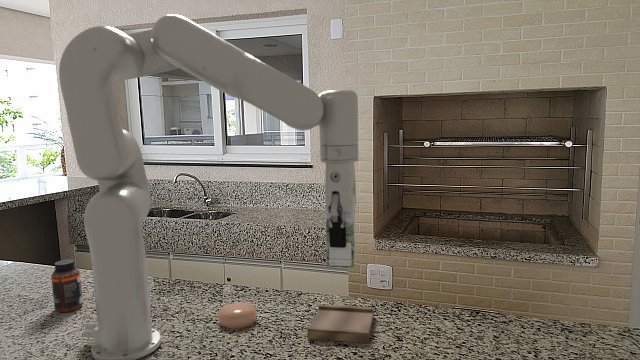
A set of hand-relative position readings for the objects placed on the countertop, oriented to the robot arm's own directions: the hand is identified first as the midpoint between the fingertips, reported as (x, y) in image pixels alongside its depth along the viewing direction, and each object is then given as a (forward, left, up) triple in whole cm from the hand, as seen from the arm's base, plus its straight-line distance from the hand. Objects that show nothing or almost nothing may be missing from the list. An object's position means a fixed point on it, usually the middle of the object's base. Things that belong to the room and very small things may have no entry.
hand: (340, 241), depth 98 cm
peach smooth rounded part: (-23, 0, -19) cm, 30 cm away
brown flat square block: (0, 0, -18) cm, 18 cm away
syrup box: (0, 0, -5) cm, 5 cm away
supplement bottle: (-65, 0, -19) cm, 68 cm away
